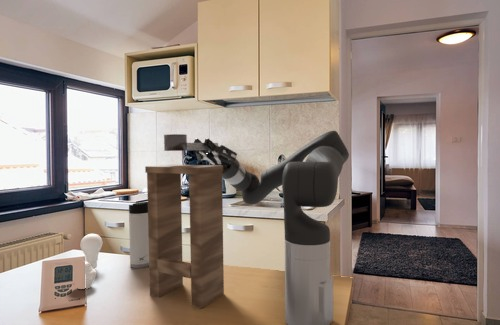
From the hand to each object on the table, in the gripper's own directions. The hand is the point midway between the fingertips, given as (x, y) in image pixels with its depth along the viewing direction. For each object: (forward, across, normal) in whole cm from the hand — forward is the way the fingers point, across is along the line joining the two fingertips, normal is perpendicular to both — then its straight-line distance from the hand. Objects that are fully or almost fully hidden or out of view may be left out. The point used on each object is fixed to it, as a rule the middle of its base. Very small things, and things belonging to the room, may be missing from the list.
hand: (200, 141), depth 97 cm
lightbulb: (-9, -33, +39) cm, 52 cm away
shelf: (-9, +4, +39) cm, 40 cm away
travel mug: (-18, -23, +34) cm, 45 cm away
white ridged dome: (-1, -23, +44) cm, 50 cm away
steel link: (+2, 0, +4) cm, 4 cm away
